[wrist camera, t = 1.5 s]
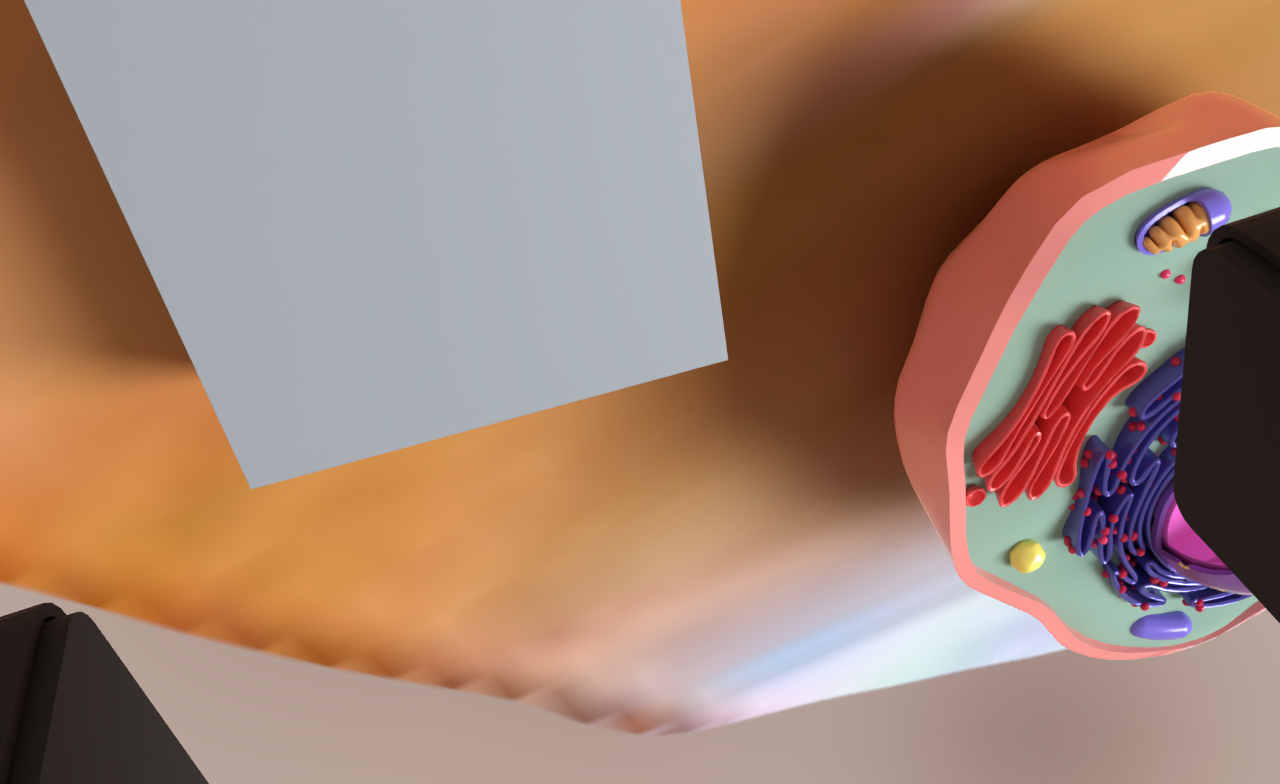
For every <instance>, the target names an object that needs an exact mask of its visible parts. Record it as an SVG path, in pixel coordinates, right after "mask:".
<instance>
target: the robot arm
mask: <svg viewBox="0 0 1280 784" xmlns="http://www.w3.org/2000/svg"><path fill="white" fill-rule="evenodd" d="M1173 492H1174V496H1175V501H1176V503H1177V506H1178V508H1179V511H1180V513H1181V515H1182V516H1183V518H1184V520H1185V521H1186V522H1187V524H1188V525H1189V526H1190V528H1191V529H1192V530H1193V531H1194V532H1195V533H1196V534H1197V535H1198V536H1199V537H1200V538H1201V539H1202V540H1203V542H1204V543H1205V544H1206V545H1207V546H1208V547H1209V548H1210V549H1211V550H1212V551H1213V552H1214V553H1215V554H1216V555H1217V557H1218V558H1219V559H1220V560H1221V561H1222V562H1223V563H1224V564H1225V565H1226V566H1227V567H1228V568H1229V569H1230V570H1231V572H1232V573H1233V574H1234V575H1235V576H1236V577H1237V578H1238V579H1239V580H1240V581H1241V582H1242V583H1243V584H1244V585H1245V586H1246V588H1247V589H1248V590H1249V591H1250V592H1251V593H1252V594H1253V595H1254V596H1255V597H1256V598H1257V599H1258V600H1259V601H1260V603H1261V604H1262V605H1263V606H1264V607H1265V608H1266V609H1267V610H1268V611H1269V612H1270V613H1271V614H1272V615H1273V616H1274V617H1275V619H1276V620H1277V621H1278V622H1279V623H1280V207H1278V208H1275V209H1272V210H1269V211H1265V212H1262V213H1259V214H1256V215H1253V216H1250V217H1247V218H1244V219H1240V220H1237V221H1234V222H1231V223H1228V224H1225V225H1222V226H1220V227H1218V228H1217V229H1215V230H1214V231H1213V232H1212V234H1211V235H1210V237H1209V238H1208V242H1207V247H1206V249H1204V250H1202V251H1200V252H1198V253H1197V255H1196V257H1195V258H1194V261H1193V265H1192V273H1191V284H1190V296H1189V307H1188V319H1187V330H1186V342H1185V353H1184V365H1183V376H1182V388H1181V399H1180V411H1179V422H1178V434H1177V445H1176V457H1175V468H1174V479H1173ZM0 784H209V783H208V782H207V780H206V779H205V778H204V776H203V775H202V773H201V772H200V771H199V769H198V768H197V767H196V765H195V764H194V762H193V761H192V759H191V758H190V756H189V755H188V754H187V752H186V751H185V749H184V748H183V747H182V745H181V744H180V743H179V741H178V740H177V738H176V737H175V735H174V734H173V733H172V731H171V730H170V728H169V727H168V725H167V724H166V723H165V721H164V720H163V718H162V717H161V716H160V714H159V713H158V711H157V710H156V709H155V707H154V706H153V704H152V703H151V702H150V700H149V699H148V697H147V696H146V695H145V693H144V692H143V690H142V689H141V688H140V686H139V685H138V683H137V682H136V680H135V679H134V678H133V676H132V675H131V673H130V672H129V671H128V669H127V668H126V666H125V665H124V664H123V662H122V661H121V659H120V658H119V657H118V655H117V654H116V652H115V651H114V649H113V648H112V647H111V645H110V644H109V642H108V641H107V640H106V638H105V637H104V635H103V634H102V633H101V631H100V630H99V628H98V627H97V625H96V624H95V623H94V622H93V620H92V619H91V618H90V617H89V616H88V615H87V614H85V613H83V612H76V613H73V614H69V615H66V614H65V613H64V612H63V611H62V609H61V608H59V607H58V606H56V605H54V604H53V603H42V604H39V605H36V606H33V607H30V608H27V609H24V610H20V611H17V612H14V613H11V614H8V615H5V616H2V617H0Z"/></svg>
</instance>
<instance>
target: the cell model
mask: <svg viewBox="0 0 1280 784" xmlns="http://www.w3.org/2000/svg"><path fill="white" fill-rule="evenodd" d="M1278 207H1280V117H1278V116H1276V115H1274V114H1272V113H1270V112H1268V111H1266V110H1264V109H1262V108H1260V107H1258V106H1256V105H1254V104H1252V103H1250V102H1249V101H1247V100H1245V99H1243V98H1241V97H1239V96H1235V95H1231V94H1228V93H1224V92H1220V91H1215V92H1196V93H1193V94H1191V95H1189V96H1186V97H1184V98H1182V99H1179V100H1177V101H1175V102H1172V103H1170V104H1167V105H1165V106H1163V107H1161V108H1159V109H1157V110H1155V111H1153V112H1151V113H1149V114H1147V115H1146V116H1144V117H1142V118H1140V119H1138V120H1136V121H1134V122H1132V123H1130V124H1128V125H1127V126H1125V127H1122V128H1120V129H1118V130H1116V131H1114V132H1111V133H1109V134H1107V135H1105V136H1103V137H1100V138H1098V139H1096V140H1094V141H1091V142H1089V143H1086V144H1084V145H1081V146H1079V147H1076V148H1074V149H1071V150H1069V151H1066V152H1064V153H1061V154H1059V155H1056V156H1054V157H1051V158H1049V159H1046V160H1044V161H1042V162H1041V163H1039V164H1038V165H1036V166H1035V167H1033V168H1032V169H1030V170H1028V171H1027V172H1025V173H1024V174H1023V175H1022V176H1021V177H1020V178H1018V179H1017V180H1016V181H1015V182H1014V183H1013V184H1012V185H1011V187H1010V188H1009V189H1008V190H1007V191H1006V193H1005V194H1004V195H1003V196H1002V197H1001V199H1000V200H999V201H998V202H997V203H996V205H995V206H994V207H993V208H992V209H991V211H990V212H989V213H988V214H987V215H986V217H985V218H984V219H983V220H982V221H981V222H980V223H979V224H978V225H977V226H976V227H975V228H974V229H973V230H972V231H971V232H970V233H969V234H968V236H967V237H966V238H965V239H964V240H963V241H962V242H961V243H960V244H959V245H958V246H957V247H956V248H955V249H954V250H953V251H952V252H951V253H950V254H949V256H948V257H947V258H946V260H945V261H944V263H943V264H942V266H941V267H940V268H939V270H938V271H937V274H936V276H935V279H934V281H933V284H932V286H931V289H930V291H929V294H928V296H927V299H926V301H925V305H924V308H923V311H922V315H921V318H920V321H919V325H918V328H917V331H916V334H915V338H914V341H913V344H912V346H911V349H910V351H909V354H908V356H907V359H906V361H905V364H904V366H903V369H902V371H901V374H900V376H899V379H898V384H897V389H896V394H895V405H894V422H895V429H896V436H897V442H898V446H899V450H900V454H901V459H902V463H903V466H904V469H905V471H906V473H907V476H908V478H909V480H910V482H911V485H912V487H913V489H914V491H915V493H916V495H917V497H918V499H919V501H920V502H921V504H922V506H923V508H924V510H925V512H926V514H927V516H928V518H929V519H930V521H931V523H932V525H933V527H934V529H935V531H936V533H937V535H938V536H939V538H940V540H941V542H942V544H943V546H944V548H945V550H946V552H947V554H948V555H949V557H950V559H951V561H952V563H953V565H954V567H955V569H956V571H957V573H958V575H959V577H960V578H961V579H962V580H963V581H964V582H965V583H966V584H967V585H968V586H969V587H971V588H973V589H975V590H977V591H979V592H981V593H983V594H986V595H988V596H990V597H992V598H995V599H997V600H999V601H1001V602H1004V603H1006V604H1008V605H1011V606H1013V607H1015V608H1017V609H1020V610H1022V611H1024V612H1026V613H1029V614H1030V615H1032V616H1033V617H1035V618H1036V619H1038V620H1039V621H1041V623H1042V624H1043V625H1044V626H1045V627H1046V628H1047V629H1048V631H1049V632H1050V633H1051V634H1052V635H1053V636H1054V638H1055V639H1056V640H1057V641H1058V642H1059V643H1060V644H1061V645H1063V646H1065V647H1066V648H1068V649H1070V650H1072V651H1074V652H1077V653H1080V654H1083V655H1086V656H1089V657H1093V658H1100V659H1108V660H1120V659H1121V660H1123V659H1138V658H1146V657H1153V656H1160V655H1167V654H1171V653H1174V652H1178V651H1181V650H1185V649H1188V648H1192V647H1194V646H1197V645H1199V644H1201V643H1204V642H1206V641H1209V640H1211V639H1214V638H1215V637H1217V636H1219V635H1221V634H1223V633H1225V632H1227V631H1229V630H1231V629H1233V628H1235V627H1236V626H1238V625H1240V624H1242V623H1243V622H1245V621H1247V620H1249V619H1250V618H1252V617H1254V616H1256V615H1257V614H1259V613H1261V612H1263V611H1264V610H1266V608H1265V607H1264V606H1263V605H1262V604H1261V603H1260V601H1259V600H1258V599H1257V598H1256V597H1255V596H1254V595H1253V594H1252V593H1251V592H1250V591H1249V590H1248V589H1247V588H1246V586H1245V585H1244V584H1243V583H1242V582H1241V581H1240V580H1239V579H1238V578H1237V577H1236V576H1235V575H1234V574H1233V573H1232V572H1231V570H1230V569H1229V568H1228V567H1227V566H1226V565H1225V564H1224V563H1223V562H1222V561H1221V560H1220V559H1219V558H1218V557H1217V555H1216V554H1215V553H1214V552H1213V551H1212V550H1211V549H1210V548H1209V547H1208V546H1207V545H1206V544H1205V543H1204V542H1203V540H1202V539H1201V538H1200V537H1199V536H1198V535H1197V534H1196V533H1195V532H1194V531H1193V530H1192V529H1191V528H1190V526H1189V525H1188V524H1187V522H1186V521H1185V520H1184V518H1183V516H1182V515H1181V513H1180V511H1179V508H1178V506H1177V503H1176V501H1175V496H1174V492H1173V479H1174V468H1175V457H1176V445H1177V434H1178V422H1179V411H1180V399H1181V388H1182V376H1183V365H1184V353H1185V342H1186V330H1187V319H1188V307H1189V296H1190V284H1191V273H1192V265H1193V261H1194V258H1195V257H1196V255H1197V253H1198V252H1200V251H1202V250H1204V249H1206V247H1207V242H1208V238H1209V237H1210V235H1211V234H1212V232H1213V231H1214V230H1215V229H1217V228H1218V227H1220V226H1222V225H1225V224H1228V223H1231V222H1234V221H1237V220H1240V219H1244V218H1247V217H1250V216H1253V215H1256V214H1259V213H1262V212H1265V211H1269V210H1272V209H1275V208H1278Z"/></svg>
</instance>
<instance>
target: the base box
mask: <svg viewBox="0 0 1280 784" xmlns="http://www.w3.org/2000/svg"><path fill="white" fill-rule="evenodd" d="M24 1H25V4H26V6H27V8H28V10H29V12H30V14H31V16H32V19H33V21H34V23H35V25H36V27H37V29H38V32H39V34H40V36H41V38H42V40H43V42H44V44H45V47H46V49H47V51H48V53H49V55H50V57H51V59H52V62H53V64H54V66H55V68H56V70H57V72H58V75H59V77H60V79H61V81H62V83H63V85H64V87H65V90H66V92H67V94H68V96H69V98H70V100H71V103H72V105H73V107H74V109H75V111H76V113H77V115H78V118H79V120H80V122H81V124H82V126H83V128H84V130H85V133H86V135H87V137H88V139H89V141H90V143H91V146H92V148H93V150H94V152H95V154H96V156H97V158H98V161H99V163H100V165H101V167H102V169H103V171H104V174H105V176H106V178H107V180H108V182H109V184H110V186H111V189H112V191H113V193H114V195H115V197H116V199H117V202H118V204H119V206H120V208H121V210H122V212H123V214H124V217H125V219H126V221H127V223H128V225H129V227H130V229H131V232H132V234H133V236H134V238H135V240H136V242H137V245H138V247H139V249H140V251H141V253H142V255H143V257H144V260H145V262H146V264H147V266H148V268H149V270H150V273H151V275H152V277H153V279H154V281H155V283H156V285H157V288H158V290H159V292H160V294H161V296H162V298H163V301H164V303H165V305H166V307H167V309H168V311H169V313H170V316H171V318H172V320H173V322H174V324H175V326H176V328H177V331H178V333H179V335H180V337H181V339H182V341H183V344H184V346H185V348H186V350H187V352H188V354H189V356H190V359H191V361H192V363H193V365H194V367H195V369H196V372H197V374H198V376H199V378H200V380H201V382H202V384H203V387H204V389H205V391H206V393H207V395H208V397H209V399H210V402H211V404H212V406H213V408H214V410H215V412H216V415H217V417H218V419H219V421H220V423H221V425H222V427H223V430H224V432H225V434H226V436H227V438H228V440H229V443H230V445H231V447H232V449H233V451H234V453H235V455H236V458H237V460H238V462H239V464H240V466H241V468H242V471H243V473H244V475H245V477H246V479H247V481H248V483H249V486H250V488H251V489H254V488H258V487H262V486H265V485H269V484H273V483H276V482H280V481H284V480H287V479H291V478H295V477H299V476H302V475H306V474H310V473H313V472H317V471H321V470H324V469H328V468H332V467H335V466H339V465H343V464H346V463H350V462H354V461H357V460H361V459H365V458H369V457H372V456H376V455H380V454H383V453H387V452H391V451H394V450H398V449H402V448H405V447H409V446H413V445H416V444H420V443H424V442H427V441H431V440H435V439H439V438H442V437H446V436H450V435H453V434H457V433H461V432H464V431H468V430H472V429H475V428H479V427H483V426H486V425H490V424H494V423H497V422H501V421H505V420H509V419H512V418H516V417H520V416H523V415H527V414H531V413H534V412H538V411H542V410H545V409H549V408H553V407H556V406H560V405H564V404H567V403H571V402H575V401H579V400H582V399H586V398H590V397H593V396H597V395H601V394H604V393H608V392H612V391H615V390H619V389H623V388H626V387H630V386H634V385H637V384H641V383H645V382H649V381H652V380H656V379H660V378H663V377H667V376H671V375H674V374H678V373H682V372H685V371H689V370H693V369H696V368H700V367H704V366H707V365H711V364H715V363H719V362H722V361H726V360H728V354H727V347H726V339H725V332H724V324H723V317H722V309H721V302H720V294H719V287H718V279H717V272H716V264H715V257H714V249H713V242H712V234H711V227H710V219H709V212H708V204H707V197H706V189H705V182H704V174H703V167H702V159H701V152H700V144H699V137H698V129H697V122H696V114H695V107H694V99H693V92H692V84H691V77H690V69H689V62H688V54H687V47H686V39H685V32H684V24H683V17H682V9H681V2H680V0H24Z"/></svg>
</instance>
